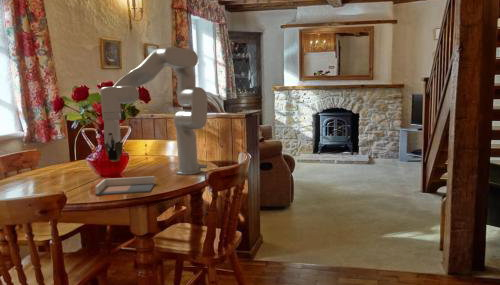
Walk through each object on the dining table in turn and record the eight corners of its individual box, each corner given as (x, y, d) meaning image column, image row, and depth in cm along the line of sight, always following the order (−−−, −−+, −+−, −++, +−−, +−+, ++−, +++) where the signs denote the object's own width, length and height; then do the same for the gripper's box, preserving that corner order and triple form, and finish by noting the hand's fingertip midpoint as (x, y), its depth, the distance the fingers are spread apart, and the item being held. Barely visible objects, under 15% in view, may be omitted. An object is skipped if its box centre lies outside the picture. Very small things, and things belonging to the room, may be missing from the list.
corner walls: (154, 182, 194) (154, 176, 193) (150, 190, 179) (149, 183, 179) (104, 185, 192) (103, 179, 192) (95, 193, 177) (94, 186, 177)
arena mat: (154, 184, 194) (154, 182, 194) (150, 192, 179) (150, 190, 179) (104, 186, 192) (104, 185, 192) (95, 195, 177) (95, 193, 177)
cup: (108, 159, 188) (107, 141, 187) (126, 159, 188) (124, 141, 187) (103, 162, 180) (102, 143, 179) (121, 162, 180) (120, 143, 179)
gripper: (107, 115, 190) (110, 155, 192) (97, 118, 173) (100, 162, 175) (124, 114, 190) (127, 154, 193) (116, 117, 173) (119, 161, 175)
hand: (114, 158), depth 184 cm, fingers closed on cup, 6 cm apart
